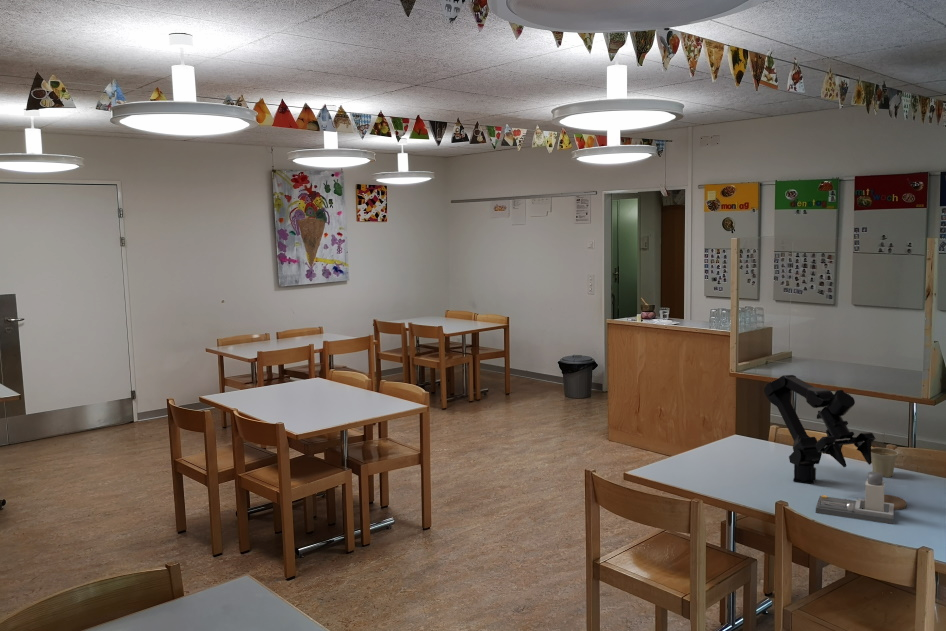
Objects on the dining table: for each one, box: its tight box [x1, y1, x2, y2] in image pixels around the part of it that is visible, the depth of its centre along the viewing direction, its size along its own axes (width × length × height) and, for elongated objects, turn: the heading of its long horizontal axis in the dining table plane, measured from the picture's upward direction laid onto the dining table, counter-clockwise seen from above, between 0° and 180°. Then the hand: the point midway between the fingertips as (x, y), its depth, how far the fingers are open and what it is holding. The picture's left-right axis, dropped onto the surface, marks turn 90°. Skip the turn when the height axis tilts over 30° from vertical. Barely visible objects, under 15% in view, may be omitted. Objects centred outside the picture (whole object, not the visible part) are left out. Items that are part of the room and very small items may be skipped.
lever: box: [817, 499, 853, 512], centre depth 232 cm, size 10×2×4 cm, turn 59°
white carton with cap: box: [864, 471, 886, 512], centre depth 230 cm, size 5×5×13 cm
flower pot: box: [871, 447, 899, 478], centre depth 267 cm, size 9×9×9 cm
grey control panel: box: [815, 494, 895, 525], centre depth 234 cm, size 21×12×3 cm, turn 59°
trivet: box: [884, 493, 907, 511], centre depth 240 cm, size 11×11×1 cm
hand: (857, 465), depth 237 cm, fingers open, 9 cm apart
